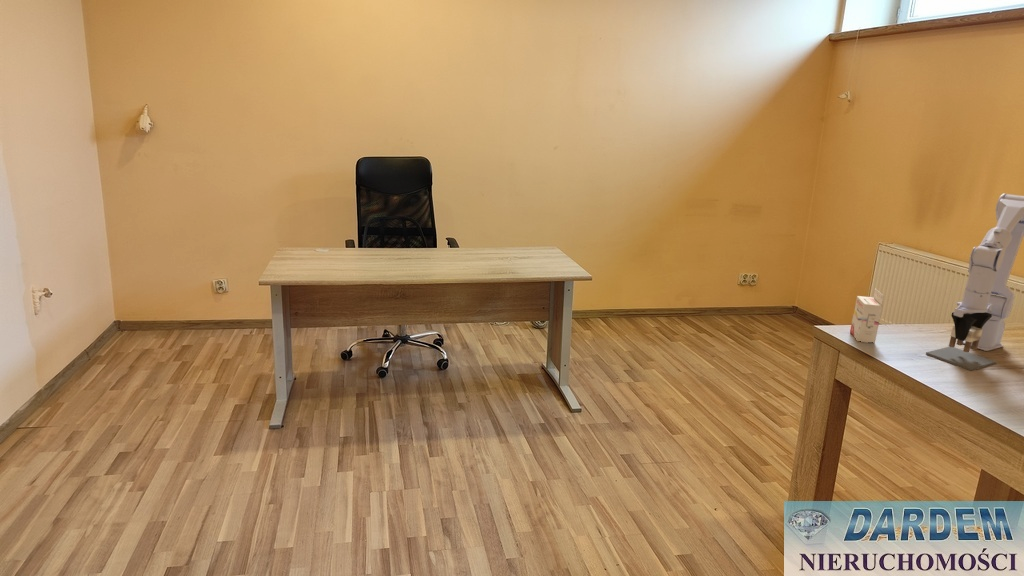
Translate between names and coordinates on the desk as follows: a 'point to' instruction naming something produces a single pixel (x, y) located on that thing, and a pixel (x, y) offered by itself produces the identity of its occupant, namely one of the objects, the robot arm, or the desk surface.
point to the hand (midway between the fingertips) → (965, 338)
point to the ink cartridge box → (867, 317)
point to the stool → (967, 339)
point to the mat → (961, 358)
